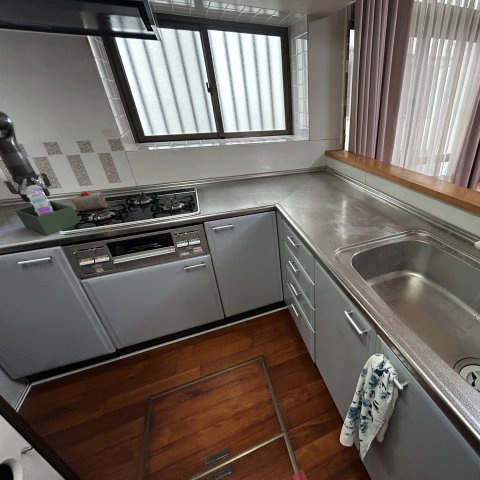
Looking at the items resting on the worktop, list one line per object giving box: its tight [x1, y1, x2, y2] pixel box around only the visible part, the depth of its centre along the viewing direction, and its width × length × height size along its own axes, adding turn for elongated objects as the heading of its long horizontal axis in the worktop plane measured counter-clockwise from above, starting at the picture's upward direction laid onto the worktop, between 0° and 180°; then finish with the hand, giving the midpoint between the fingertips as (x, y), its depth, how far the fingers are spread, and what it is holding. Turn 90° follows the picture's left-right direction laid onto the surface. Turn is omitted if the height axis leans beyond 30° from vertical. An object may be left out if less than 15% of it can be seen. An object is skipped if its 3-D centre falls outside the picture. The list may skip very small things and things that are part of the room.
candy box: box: [24, 186, 54, 217], centre depth 125 cm, size 14×6×16 cm, turn 47°
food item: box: [70, 190, 108, 213], centre depth 145 cm, size 14×8×10 cm, turn 116°
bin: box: [14, 200, 81, 237], centre depth 128 cm, size 20×14×9 cm
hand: (38, 198), depth 123 cm, fingers closed on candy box, 7 cm apart
